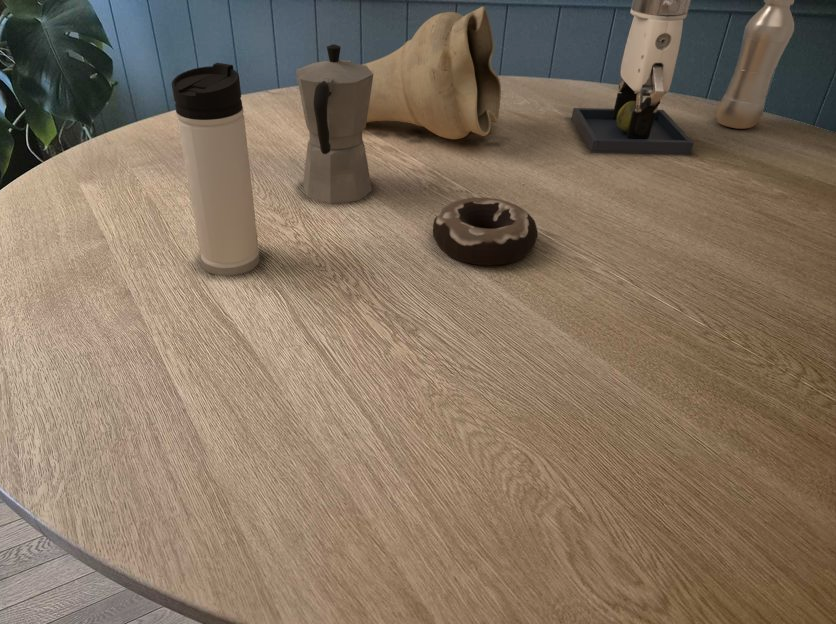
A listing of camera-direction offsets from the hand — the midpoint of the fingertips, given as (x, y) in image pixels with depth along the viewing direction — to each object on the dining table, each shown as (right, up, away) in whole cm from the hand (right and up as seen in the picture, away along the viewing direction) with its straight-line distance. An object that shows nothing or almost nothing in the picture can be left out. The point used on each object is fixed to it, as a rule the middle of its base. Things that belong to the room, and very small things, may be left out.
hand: (629, 127), depth 102 cm
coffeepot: (-45, -14, -16) cm, 50 cm away
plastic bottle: (+19, +2, +5) cm, 20 cm away
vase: (-34, 0, +3) cm, 34 cm away
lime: (0, -1, +1) cm, 1 cm away
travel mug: (-56, -25, -30) cm, 68 cm away
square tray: (0, -1, +1) cm, 2 cm away
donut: (-27, -23, -27) cm, 44 cm away
